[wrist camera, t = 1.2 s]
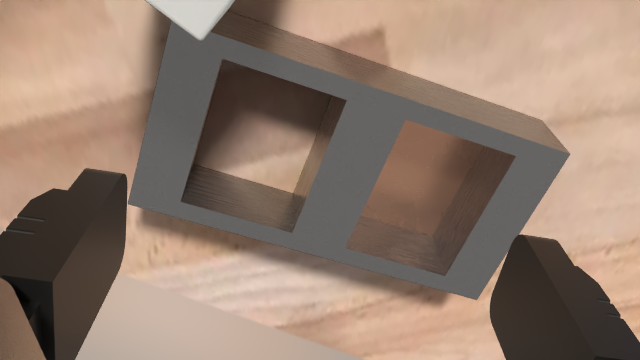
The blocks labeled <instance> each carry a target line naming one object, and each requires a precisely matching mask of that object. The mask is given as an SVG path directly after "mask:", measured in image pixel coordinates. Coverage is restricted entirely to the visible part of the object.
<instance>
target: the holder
mask: <svg viewBox="0 0 640 360" xmlns="http://www.w3.org/2000/svg"><path fill="white" fill-rule="evenodd" d="M224 59H225V60H228V61H231V62H234V63H237V64H240V65H243V66H246V67H249V68H252V69H255V70H258V71H261V72H264V73H267V74H270V75H273V76H276V77H279V78H282V79H285V80H288V81H291V82H294V83H297V84H300V85H303V86H306V87H309V88H312V89H315V90H318V91H321V92H324V93H327V94H330V95H332V97H331V100H330V103H329V105H328V108H327V110H326V113H325V115H324V118H323V120H322V123H321V125H320V128H319V130H318V133H317V135H316V138H315V140H314V143H313V145H312V148H311V150H310V153H309V155H308V158H307V160H306V163H305V165H304V168H303V171H302V173H301V176H300V178H299V181H298V183H297V186H296V188H295V191H294V193H289V192H286V191H282V190H279V189H275V188H272V187H269V186H265V185H262V184H258V183H255V182H252V181H248V180H245V179H241V178H238V177H235V176H231V175H228V174H224V173H221V172H218V171H214V170H211V169H207V168H204V167H201V166H197V165H194V164H193V163H194V159H195V156H196V153H197V149H198V146H199V142H200V139H201V135H202V132H203V129H204V125H205V122H206V118H207V115H208V111H209V108H210V105H211V101H212V98H213V94H214V91H215V87H216V84H217V81H218V77H219V74H220V70H221V67H222V63H223V60H224ZM569 155H570V153H569V152H568V151H567V150H566V148H565V147H564V146H563V145H562V144H561V142H560V141H559V140H558V139H557V138H556V136H555V135H554V134H553V133H552V132H551V130H550V129H549V128H548V127H547V126H546V125H545V123H544V122H543V121H542V120H539V119H536V118H533V117H531V116H528V115H525V114H522V113H519V112H516V111H513V110H510V109H508V108H505V107H502V106H499V105H496V104H493V103H490V102H487V101H485V100H482V99H479V98H476V97H473V96H470V95H467V94H465V93H462V92H459V91H456V90H453V89H450V88H447V87H444V86H442V85H439V84H436V83H433V82H430V81H427V80H424V79H421V78H419V77H416V76H413V75H410V74H407V73H404V72H401V71H398V70H396V69H393V68H390V67H387V66H384V65H381V64H378V63H376V62H373V61H370V60H367V59H364V58H361V57H358V56H355V55H353V54H350V53H347V52H344V51H341V50H338V49H335V48H332V47H330V46H327V45H324V44H321V43H318V42H315V41H312V40H309V39H307V38H304V37H301V36H298V35H295V34H292V33H289V32H287V31H284V30H281V29H278V28H275V27H272V26H269V25H266V24H264V23H261V22H258V21H255V20H252V19H249V18H246V17H243V16H241V15H238V14H235V13H232V12H229V11H227V12H226V13H225V14H224V15H223V16H222V18H221V19H220V20H219V21H218V23H217V24H216V25H215V26H214V27H213V29H212V30H211V31H210V32H209V33H208V35H207V36H206V37H205V38H204V39H203V40H202V41H199V40H197V39H196V38H195V37H193V36H192V35H191V34H189V33H188V32H187V31H185V30H184V29H183V28H181V27H180V26H179V25H177V24H176V23H175V22H173V21H172V20H171V24H170V29H169V33H168V37H167V41H166V45H165V50H164V54H163V58H162V62H161V66H160V71H159V75H158V79H157V83H156V87H155V92H154V96H153V100H152V104H151V108H150V113H149V117H148V121H147V125H146V129H145V133H144V138H143V142H142V146H141V150H140V154H139V159H138V163H137V167H136V171H135V175H134V180H133V184H132V188H131V192H130V196H129V201H128V204H129V205H133V206H137V207H140V208H144V209H147V210H151V211H155V212H158V213H162V214H166V215H169V216H173V217H177V218H180V219H184V220H188V221H191V222H195V223H198V224H202V225H206V226H209V227H213V228H217V229H220V230H224V231H228V232H231V233H235V234H238V235H242V236H246V237H249V238H253V239H257V240H260V241H264V242H268V243H271V244H275V245H278V246H282V247H286V248H289V249H293V250H297V251H300V252H304V253H308V254H311V255H315V256H319V257H322V258H326V259H329V260H333V261H337V262H340V263H344V264H348V265H351V266H355V267H359V268H362V269H366V270H369V271H373V272H377V273H380V274H384V275H388V276H391V277H395V278H399V279H402V280H406V281H409V282H413V283H417V284H420V285H424V286H428V287H431V288H435V289H439V290H442V291H446V292H450V293H453V294H457V295H460V296H464V297H468V298H471V299H475V300H477V299H478V297H479V296H480V294H481V293H482V291H483V289H484V288H485V286H486V285H487V283H488V282H489V280H490V279H491V277H492V275H493V274H494V272H495V271H496V269H497V268H498V266H499V265H500V263H501V261H502V260H503V258H504V257H505V255H506V254H507V252H508V251H509V249H510V246H511V244H512V242H513V240H514V239H515V237H516V236H518V235H519V233H520V232H521V230H522V229H523V227H524V226H525V224H526V222H527V221H528V219H529V218H530V216H531V215H532V213H533V212H534V210H535V208H536V207H537V205H538V204H539V202H540V201H541V199H542V197H543V196H544V194H545V193H546V191H547V190H548V188H549V187H550V185H551V183H552V182H553V180H554V179H555V177H556V176H557V174H558V173H559V171H560V169H561V168H562V166H563V165H564V163H565V162H566V160H567V158H568V157H569Z"/></svg>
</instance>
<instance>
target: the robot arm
mask: <svg viewBox="0 0 640 360" xmlns="http://www.w3.org/2000/svg"><path fill="white" fill-rule="evenodd" d="M126 211H127V177H126V175H125V174H122V173H116V172H109V171H102V170H96V169H89V168H86V169H84V171H83V172H82V173H81V174H80V176H79V177H78V178H77V179H76V181H75V182H74V183H73V184H72V186H71V187H70V188H69V190H61V189H54V188H53V189H52V190H50V191H48V192H46V193H44V194H42V195H40V196H38V197H36V198H34V199H32V200H30V202H29V203H28V204H27V205H26V206H25V207H24V208H23V210H22V211H21V212H20V213H19V214H18V217H17V218H15V219H14V220H13V221H12V222H11V223H10V224H9V226H8V227H7V228H6V231H3V232H2V234H1V235H0V360H75V358H76V356H77V354H78V352H79V350H80V348H81V346H82V344H83V342H84V340H85V338H86V336H87V334H88V332H89V330H90V328H91V326H92V324H93V322H94V320H95V318H96V316H97V314H98V312H99V310H100V308H101V306H102V304H103V302H104V300H105V298H106V296H107V294H108V292H109V290H110V287H111V285H112V283H113V281H114V280H115V278H116V276H117V274H118V271H119V269H120V266H121V263H122V259H123V255H124V249H125V240H126ZM620 316H621V315H620V314H619V312H618V311H617V309H616V308H615V306H614V305H613V304H610V299H609V298H608V296H607V295H606V294H605V292H604V291H603V289H602V288H601V286H600V285H599V284H598V283H597V282H596V281H595V280H594V279H593V278H591V277H590V276H589V275H588V274H586V273H585V272H584V271H583V270H582V269H580V268H579V267H578V266H574V264H573V263H572V261H571V260H570V259H569V257H568V256H567V254H566V253H565V251H564V250H563V248H562V247H561V245H560V244H559V242H558V241H556V240H554V239H548V238H541V237H535V236H528V235H518V236H516V237H515V239H514V240H513V242H512V244H511V246H510V249H509V251H508V254H507V257H506V259H505V262H504V264H503V267H502V270H501V272H500V275H499V277H498V280H497V283H496V285H495V288H494V290H493V293H492V297H491V302H490V318H491V323H492V326H493V328H494V331H495V333H496V336H497V338H498V341H499V343H500V346H501V348H502V351H503V353H504V356H505V358H506V360H640V342H639V341H638V339H637V338H636V336H635V335H634V334H633V332H632V331H631V329H630V328H629V326H628V325H627V324H626V322H625V321H624V319H620Z"/></svg>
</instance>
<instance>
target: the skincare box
mask: <svg viewBox="0 0 640 360" xmlns="http://www.w3.org/2000/svg"><path fill="white" fill-rule="evenodd" d="M145 1H146V2H148V3H149V4H150V5H152V6H153V7H154V8H156V9H157V10H158V11H160V12H161V13H162V14H164V15H165V16H166V17H168V18H169V19H171V20H172V21H173V22H175V23H176V24H177V25H179V26H180V27H181V28H183V29H184V30H185V31H187V32H188V33H189V34H191V35H192V36H193V37H195V38H196V39H197V40H199V41H202V40H203V39H204V38H205V37H206V36H207V35H208V33H209V32H210V31H211V30H212V29H213V27H214V26H215V25H216V24H217V23H218V21H219V20H220V19H221V18H222V16H223V15H224V14H225V13H226V12H227V10H228V9H229V8H230V7H231V5H232V4H233V3H234V2H235V0H145Z"/></svg>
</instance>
